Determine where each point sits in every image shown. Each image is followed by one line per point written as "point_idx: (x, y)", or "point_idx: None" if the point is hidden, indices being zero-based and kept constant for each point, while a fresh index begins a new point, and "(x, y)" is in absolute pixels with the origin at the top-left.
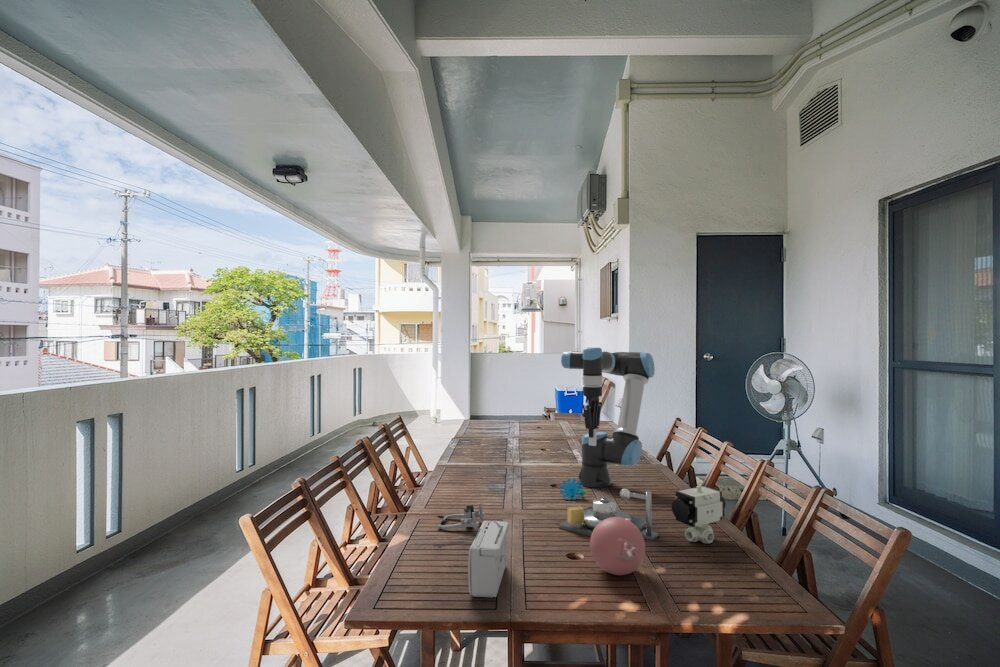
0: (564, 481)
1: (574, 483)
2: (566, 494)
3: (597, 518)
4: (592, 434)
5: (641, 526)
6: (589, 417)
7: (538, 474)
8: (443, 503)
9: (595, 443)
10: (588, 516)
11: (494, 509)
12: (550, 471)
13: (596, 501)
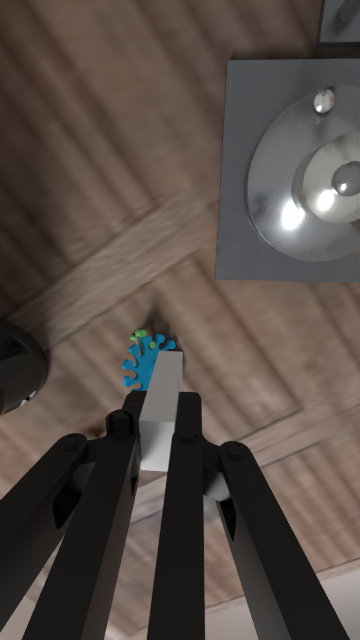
0: None
1: (139, 372)
2: None
3: None
4: (191, 406)
5: (302, 60)
6: (319, 588)
7: None
8: (349, 537)
9: (170, 358)
10: (352, 225)
11: (334, 452)
12: (3, 482)
13: (358, 206)
